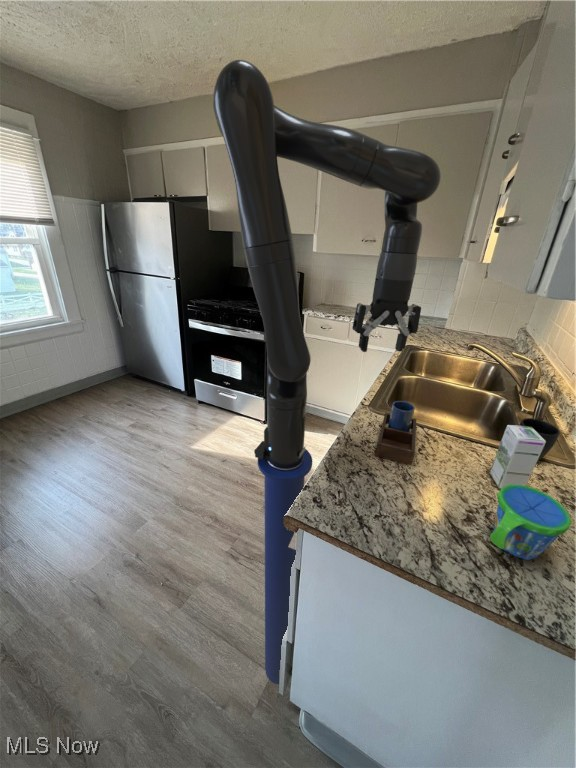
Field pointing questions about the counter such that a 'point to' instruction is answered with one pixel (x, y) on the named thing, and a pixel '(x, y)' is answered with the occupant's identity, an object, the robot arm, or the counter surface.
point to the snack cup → (527, 521)
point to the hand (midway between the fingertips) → (381, 350)
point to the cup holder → (396, 442)
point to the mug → (542, 433)
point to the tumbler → (401, 416)
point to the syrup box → (516, 456)
